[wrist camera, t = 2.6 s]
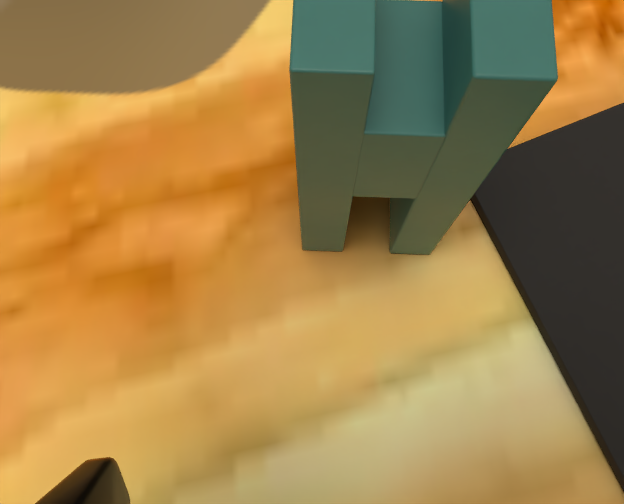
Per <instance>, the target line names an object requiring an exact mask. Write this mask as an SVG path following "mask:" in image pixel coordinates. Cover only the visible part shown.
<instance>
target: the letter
mask: <svg viewBox="0 0 624 504" xmlns="http://www.w3.org/2000/svg"><path fill="white" fill-rule="evenodd" d="M557 79H558V75H557V62H556V50H555V37H554V25H553V13H552V0H443V1H442V2H441V1H412V0H294V1H293V18H292V35H291V53H290V84H291V98H292V112H293V126H294V141H295V155H296V169H297V183H298V197H299V212H300V226H301V240H302V250H315V251H341V252H342V251H343V248H344V242H345V237H346V231H347V226H348V220H349V215H350V209H351V204H352V198H353V196H357V197H384V198H390V245H389V251H390V253H398V254H424V255H429V254H431V252H432V251H433V249H434V248H435V247H436V245H437V244H438V243H439V241H440V240H441V238H442V237H443V236H444V234H445V233H446V232H447V230H448V229H449V228H450V226H451V225H452V223H453V222H454V221H455V219H456V218H457V217H458V215H459V214H460V213H461V211H462V210H463V208H464V207H465V206H466V204H467V203H468V202H469V200H470V199H471V198H472V196H473V195H474V193H475V192H476V191H477V189H478V188H479V187H480V185H481V184H482V182H483V181H484V180H485V178H486V177H487V176H488V174H489V173H490V172H491V170H492V169H493V167H494V166H495V165H496V163H497V162H498V161H499V159H500V158H501V157H502V155H503V154H504V152H505V151H506V150H507V148H508V147H509V146H510V144H511V143H512V142H513V140H514V139H515V137H516V136H517V135H518V133H519V132H520V131H521V129H522V128H523V126H524V125H525V124H526V122H527V121H528V120H529V118H530V117H531V116H532V114H533V113H534V111H535V110H536V109H537V107H538V106H539V105H540V103H541V102H542V101H543V99H544V98H545V96H546V95H547V94H548V92H549V91H550V90H551V88H552V87H553V86H554V84H555V83H556V81H557Z"/></svg>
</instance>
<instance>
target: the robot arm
mask: <svg viewBox="0 0 624 504" xmlns="http://www.w3.org/2000/svg"><path fill="white" fill-rule="evenodd" d="M35 504H130V497H129V494H128V491H127V488H126V486H125V483H124V480H123V477H122V475H121V472H120V469H119V467H118V464H117V462H116V461H115V460H114V459H113V458H110V457H106V458H98V459H90V460H87V461H85V462H84V463H82V464H81V465H80V466H79V467H78V468H77V469H75V470H74V471H73V472H72V473H71V474H70V475H68V476H67V477H66V478H65V479H64V480H62V481H61V482H60V483H59V484H58V485H57V486H55V487H54V488H53V489H52V490H51V491H50V492H48V493H47V494H46V495H45V496H44V497H42V498H41V499H40V500H39V501H38V502H37V503H35Z"/></svg>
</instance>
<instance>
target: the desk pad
mask: <svg viewBox="0 0 624 504" xmlns="http://www.w3.org/2000/svg"><path fill="white" fill-rule="evenodd" d="M471 200H472V202H473V204H474V206H475V207H476V209H477V211H478V213H479V215H480V217H481V219H482V221H483V223H484V225H485V227H486V229H487V230H488V232H489V234H490V236H491V238H492V240H493V242H494V244H495V246H496V248H497V250H498V251H499V253H500V255H501V257H502V259H503V261H504V263H505V265H506V267H507V269H508V271H509V273H510V274H511V276H512V278H513V280H514V282H515V284H516V286H517V288H518V290H519V292H520V294H521V296H522V297H523V299H524V301H525V303H526V305H527V307H528V309H529V311H530V313H531V315H532V317H533V318H534V320H535V322H536V324H537V326H538V328H539V330H540V332H541V334H542V336H543V338H544V340H545V341H546V343H547V345H548V347H549V349H550V351H551V353H552V355H553V357H554V359H555V361H556V362H557V364H558V366H559V368H560V370H561V372H562V374H563V376H564V378H565V380H566V382H567V384H568V385H569V387H570V389H571V391H572V393H573V395H574V397H575V399H576V401H577V403H578V405H579V407H580V408H581V410H582V412H583V414H584V416H585V418H586V420H587V422H588V424H589V426H590V428H591V429H592V431H593V433H594V435H595V437H596V439H597V441H598V443H599V445H600V447H601V449H602V451H603V452H604V454H605V456H606V458H607V460H608V462H609V464H610V466H611V468H612V470H613V472H614V474H615V475H616V477H617V479H618V481H619V483H620V485H621V487H622V489H623V491H624V103H622V104H619V105H617V106H614V107H612V108H609V109H607V110H604V111H602V112H599V113H597V114H594V115H592V116H589V117H587V118H584V119H582V120H579V121H577V122H574V123H572V124H569V125H567V126H564V127H562V128H559V129H557V130H554V131H552V132H549V133H546V134H544V135H541V136H539V137H536V138H534V139H531V140H529V141H526V142H524V143H521V144H519V145H516V146H514V147H511V148H509V149H507V150H506V151H505V152H504V154H503V155H502V157H501V158H500V159H499V161H498V162H497V163H496V165H495V166H494V167H493V169H492V170H491V172H490V173H489V174H488V176H487V177H486V178H485V180H484V181H483V182H482V184H481V185H480V187H479V188H478V189H477V191H476V192H475V193H474V195H473V196H472V198H471Z"/></svg>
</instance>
